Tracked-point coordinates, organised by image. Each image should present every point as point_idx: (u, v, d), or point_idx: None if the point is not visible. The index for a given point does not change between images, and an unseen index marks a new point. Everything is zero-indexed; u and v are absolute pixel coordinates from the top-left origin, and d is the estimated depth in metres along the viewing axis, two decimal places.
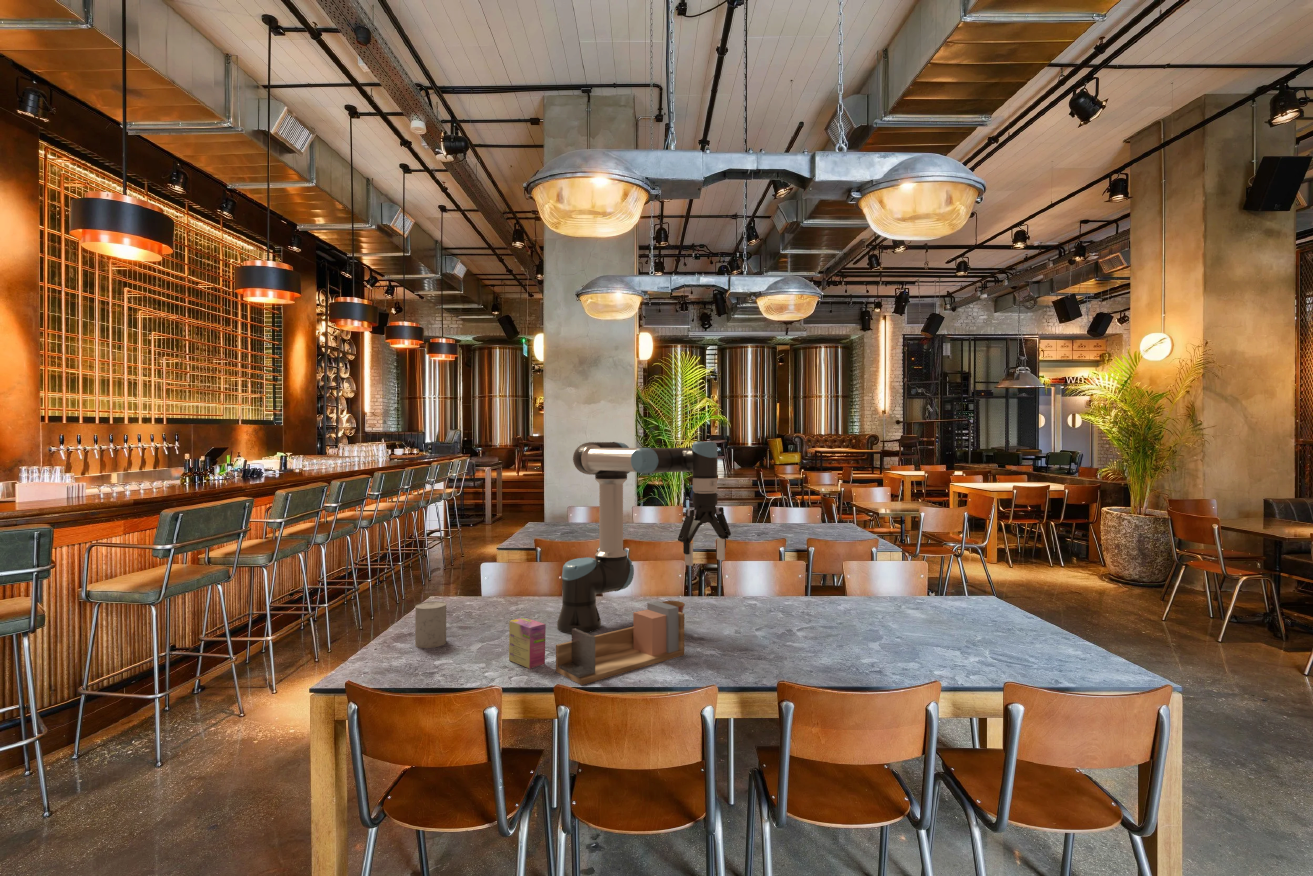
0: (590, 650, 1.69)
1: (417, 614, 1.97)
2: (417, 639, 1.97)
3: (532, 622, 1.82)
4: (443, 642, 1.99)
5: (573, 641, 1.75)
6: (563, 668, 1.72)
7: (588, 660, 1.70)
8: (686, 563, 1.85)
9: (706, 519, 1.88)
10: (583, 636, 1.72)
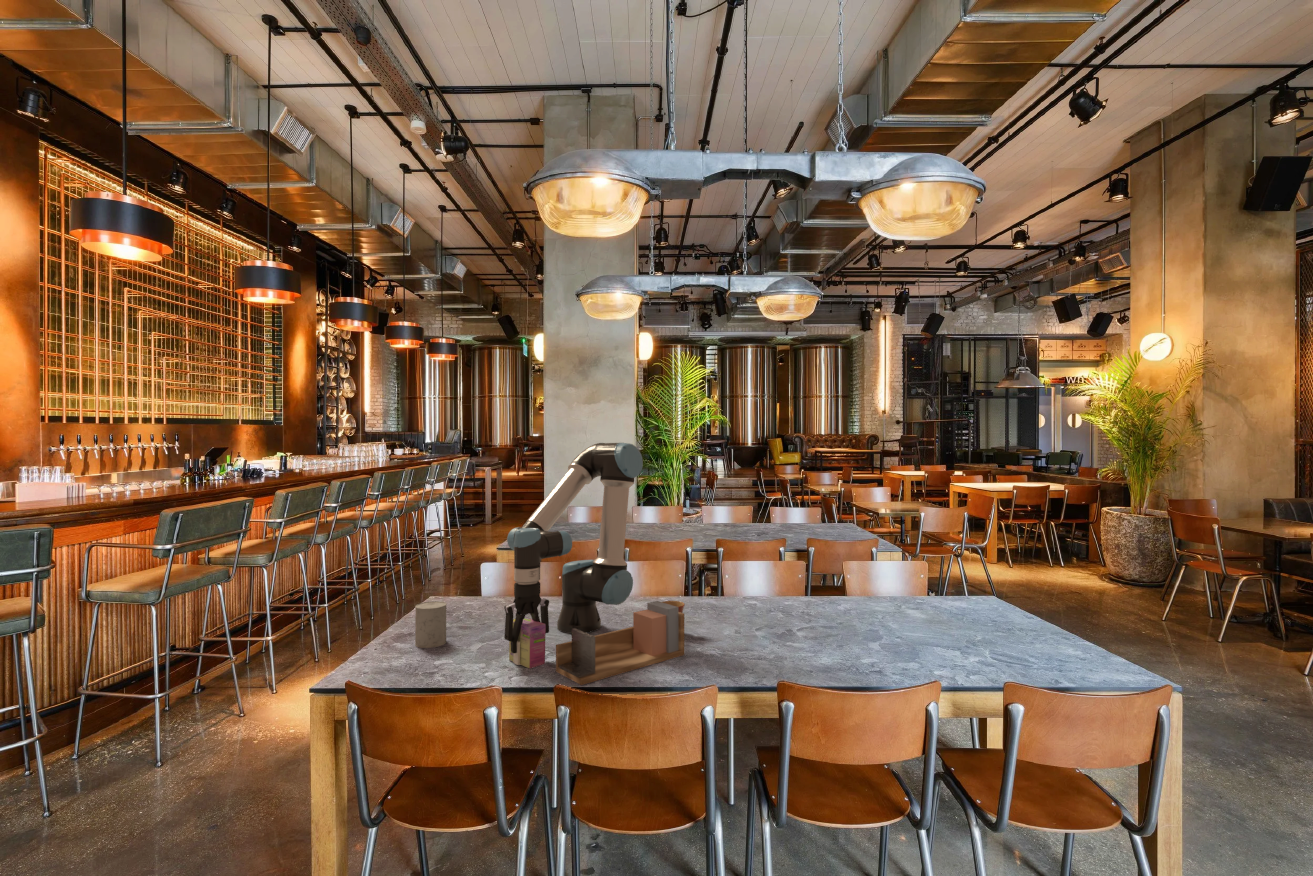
0: (590, 650, 1.69)
1: (417, 614, 1.97)
2: (417, 639, 1.97)
3: (532, 622, 1.82)
4: (443, 642, 1.99)
5: (573, 641, 1.75)
6: (563, 668, 1.72)
7: (588, 660, 1.70)
8: (514, 661, 1.80)
9: (527, 610, 1.81)
10: (583, 636, 1.72)
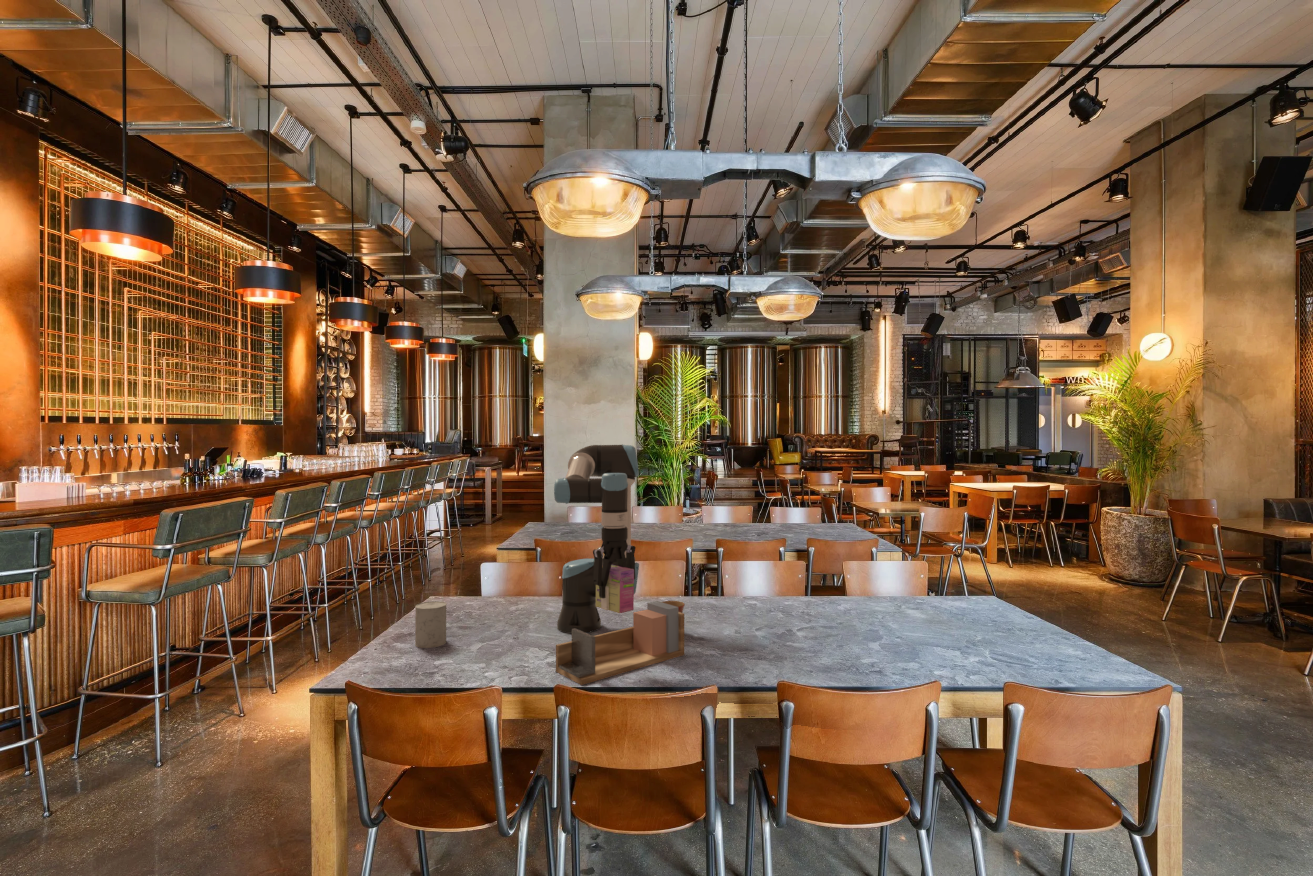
0: (590, 650, 1.69)
1: (417, 614, 1.97)
2: (417, 639, 1.97)
3: (620, 567, 1.79)
4: (443, 642, 1.99)
5: (573, 641, 1.75)
6: (563, 668, 1.72)
7: (588, 660, 1.70)
8: (602, 607, 1.77)
9: (615, 555, 1.78)
10: (583, 636, 1.72)
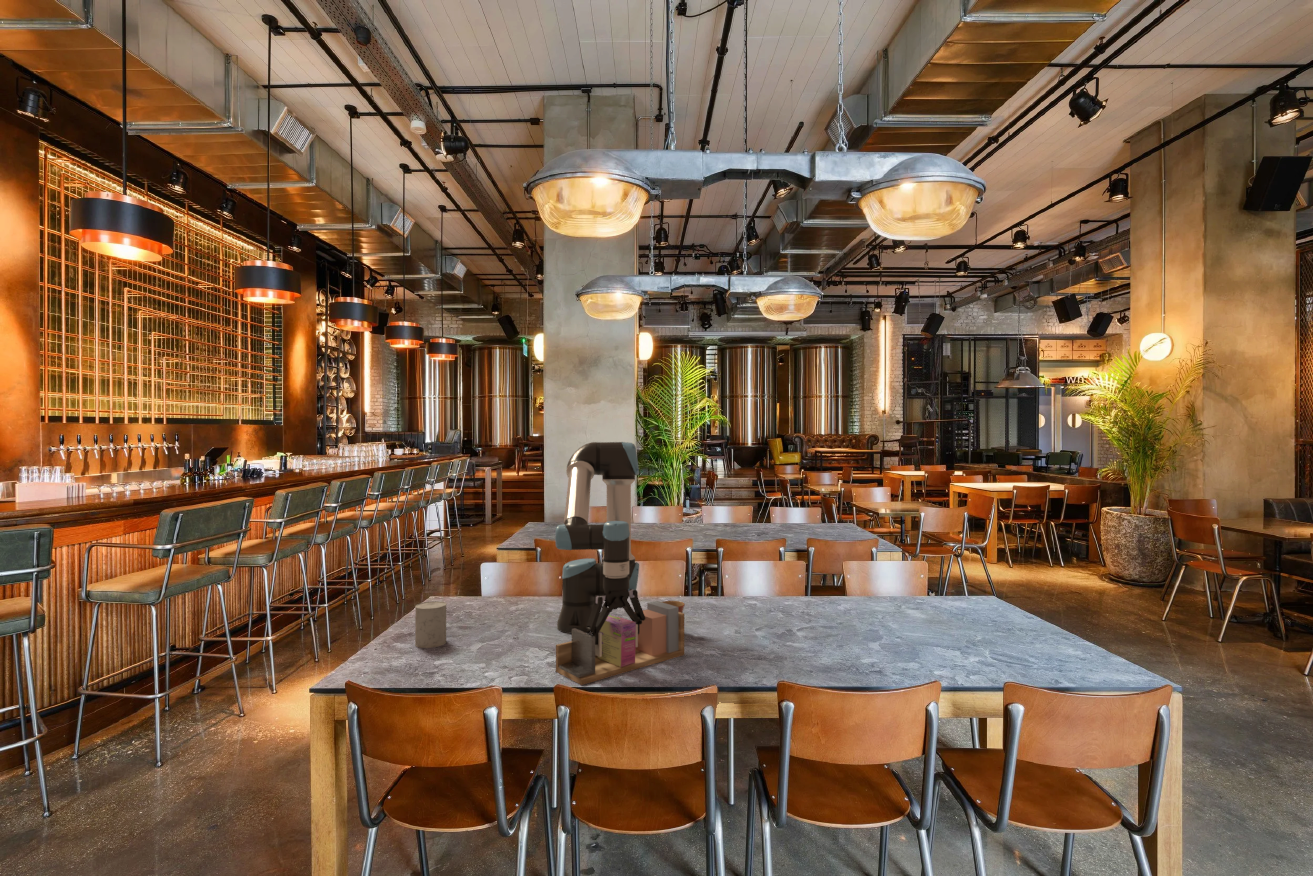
0: (590, 650, 1.69)
1: (417, 614, 1.97)
2: (417, 639, 1.97)
3: (622, 620, 1.79)
4: (443, 642, 1.99)
5: (573, 641, 1.75)
6: (563, 668, 1.72)
7: (588, 660, 1.70)
8: (595, 653, 1.75)
9: (617, 604, 1.78)
10: (583, 636, 1.72)
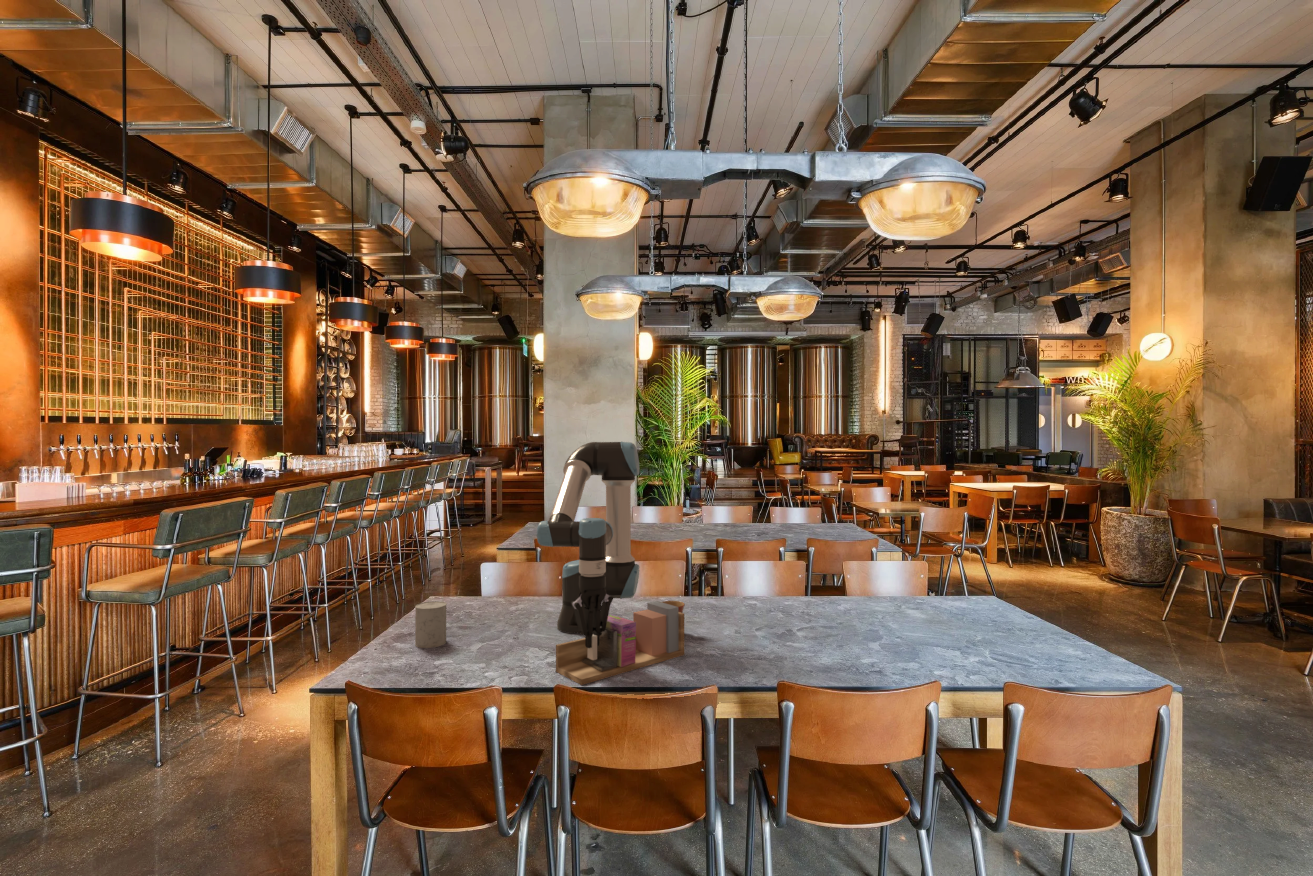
0: (612, 644, 1.73)
1: (417, 614, 1.97)
2: (417, 639, 1.97)
3: (622, 620, 1.79)
4: (443, 642, 1.99)
5: None
6: (586, 662, 1.76)
7: (610, 654, 1.74)
8: (588, 657, 1.75)
9: None
10: (605, 631, 1.76)
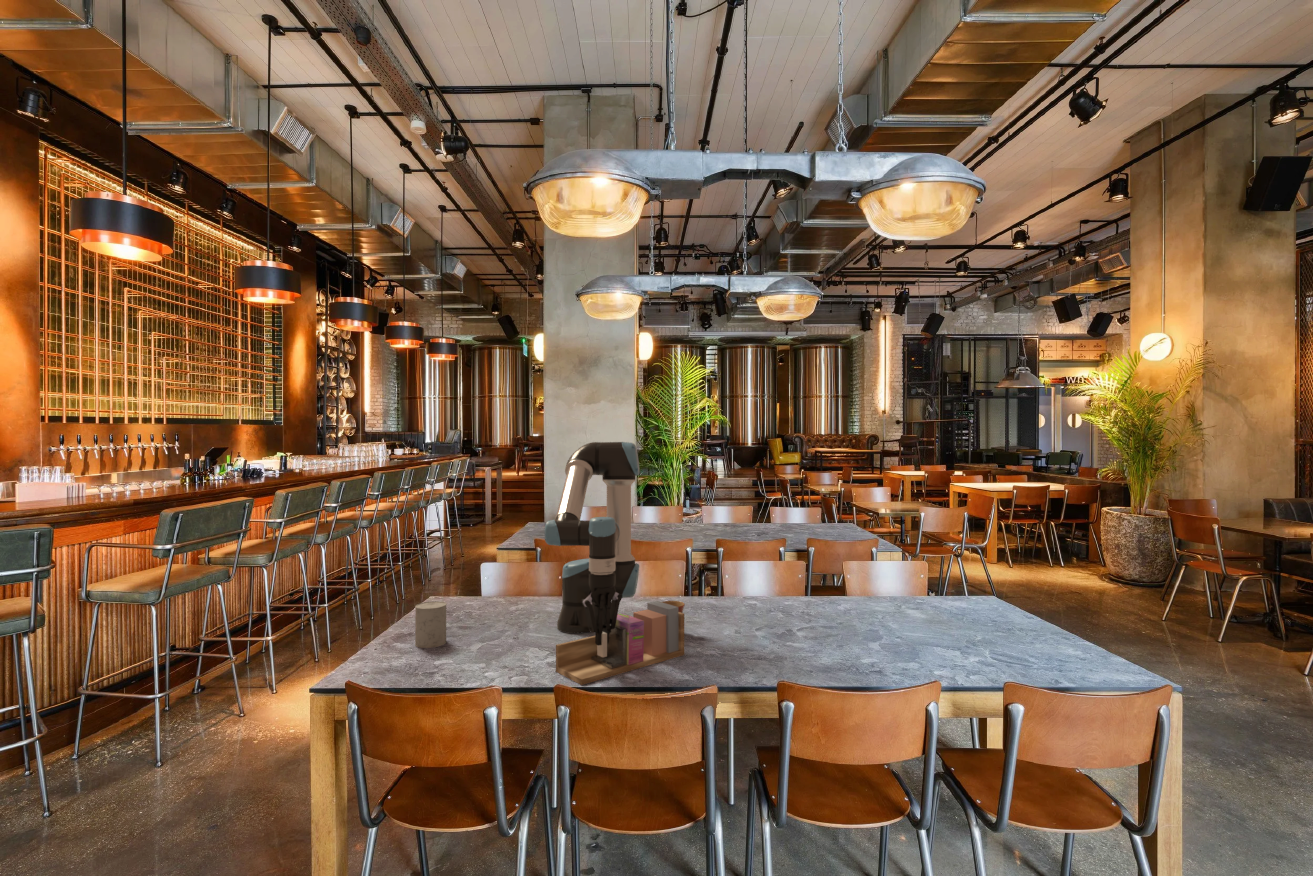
0: (622, 642, 1.76)
1: (417, 614, 1.97)
2: (417, 639, 1.97)
3: (630, 618, 1.81)
4: (443, 642, 1.99)
5: None
6: (595, 659, 1.79)
7: (619, 652, 1.76)
8: (598, 654, 1.77)
9: None
10: (614, 629, 1.78)
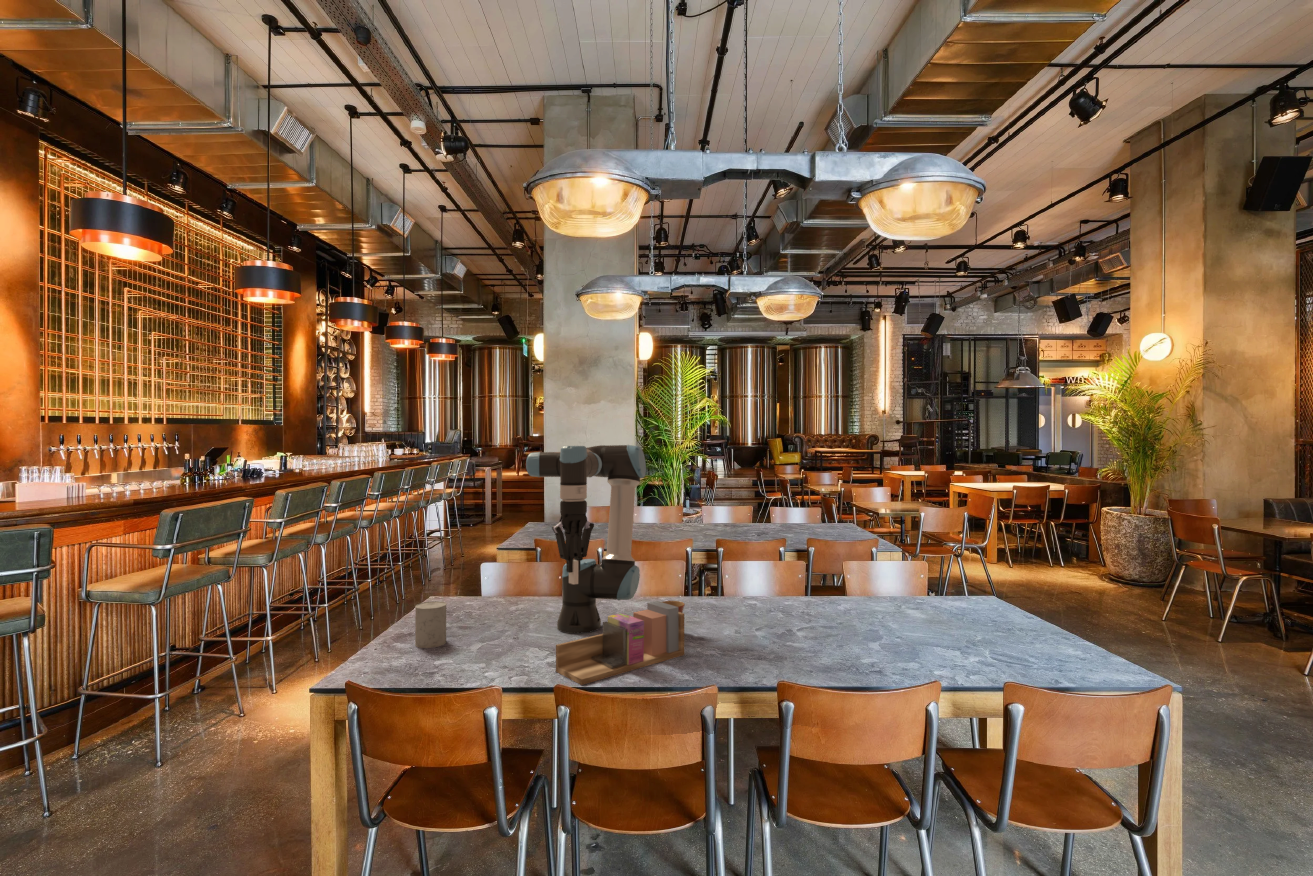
0: (622, 642, 1.76)
1: (417, 614, 1.97)
2: (417, 639, 1.97)
3: (630, 618, 1.81)
4: (443, 642, 1.99)
5: (604, 634, 1.82)
6: (595, 659, 1.79)
7: (619, 652, 1.76)
8: (570, 581, 1.77)
9: None
10: (614, 629, 1.78)
